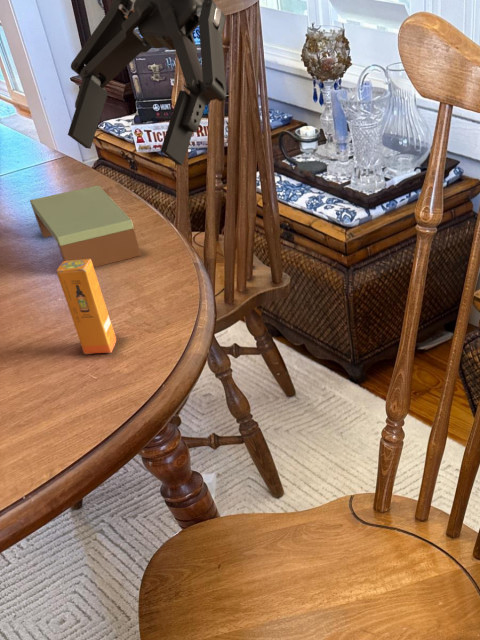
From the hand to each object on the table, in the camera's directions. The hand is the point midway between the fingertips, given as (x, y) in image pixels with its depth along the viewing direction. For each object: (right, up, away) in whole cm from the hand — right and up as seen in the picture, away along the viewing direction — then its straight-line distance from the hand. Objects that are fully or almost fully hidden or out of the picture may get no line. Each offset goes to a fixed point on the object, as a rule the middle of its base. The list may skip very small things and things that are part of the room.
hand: (123, 150), depth 85 cm
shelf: (-15, 0, +27) cm, 31 cm away
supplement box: (-5, -20, +6) cm, 22 cm away
